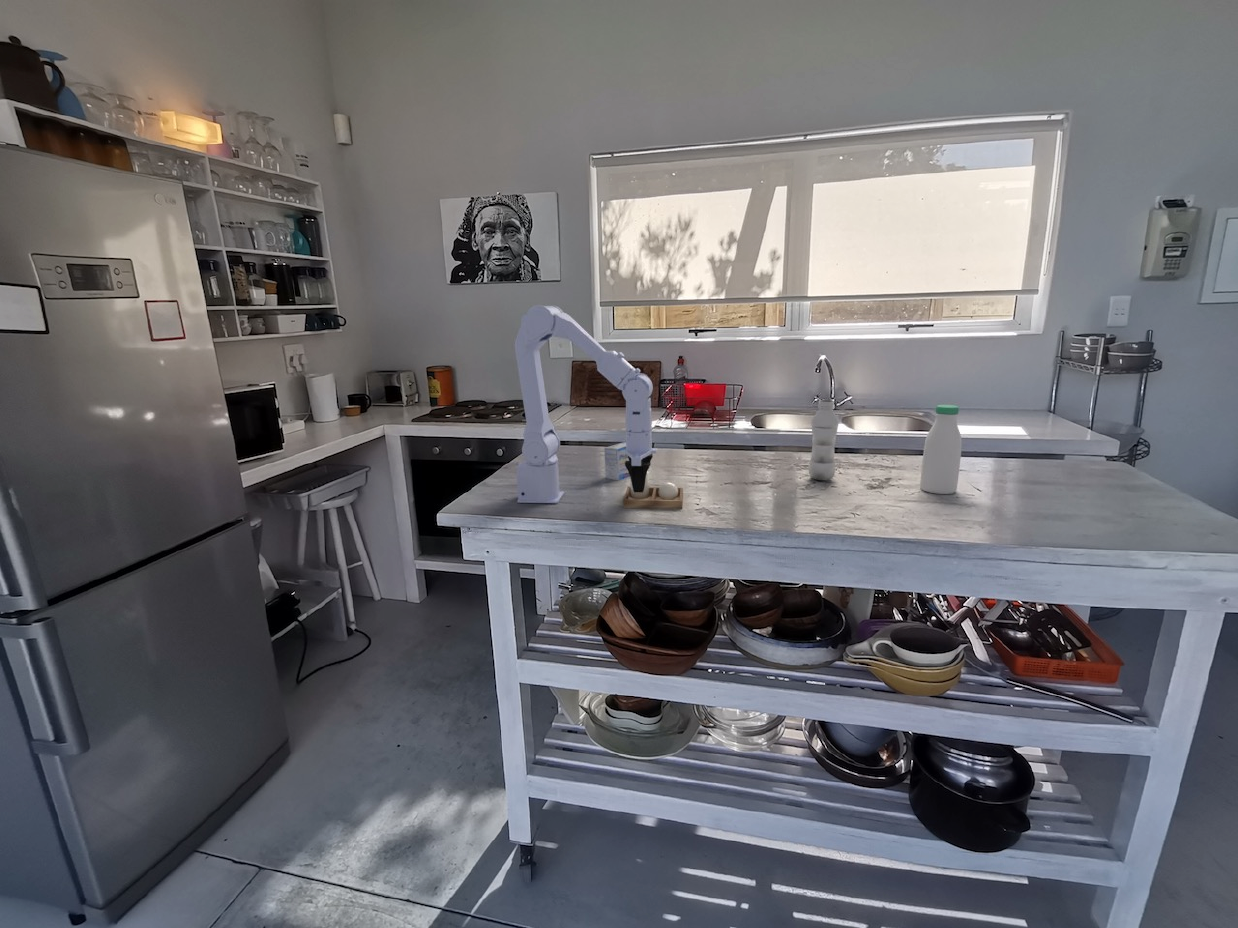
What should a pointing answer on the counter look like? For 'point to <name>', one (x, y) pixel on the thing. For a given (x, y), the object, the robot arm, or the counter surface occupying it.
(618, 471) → the medicine box
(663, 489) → the ceramic egg
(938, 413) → the milk bottle
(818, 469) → the plastic bottle
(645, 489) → the white rounded block
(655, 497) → the caddy
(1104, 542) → the counter surface
